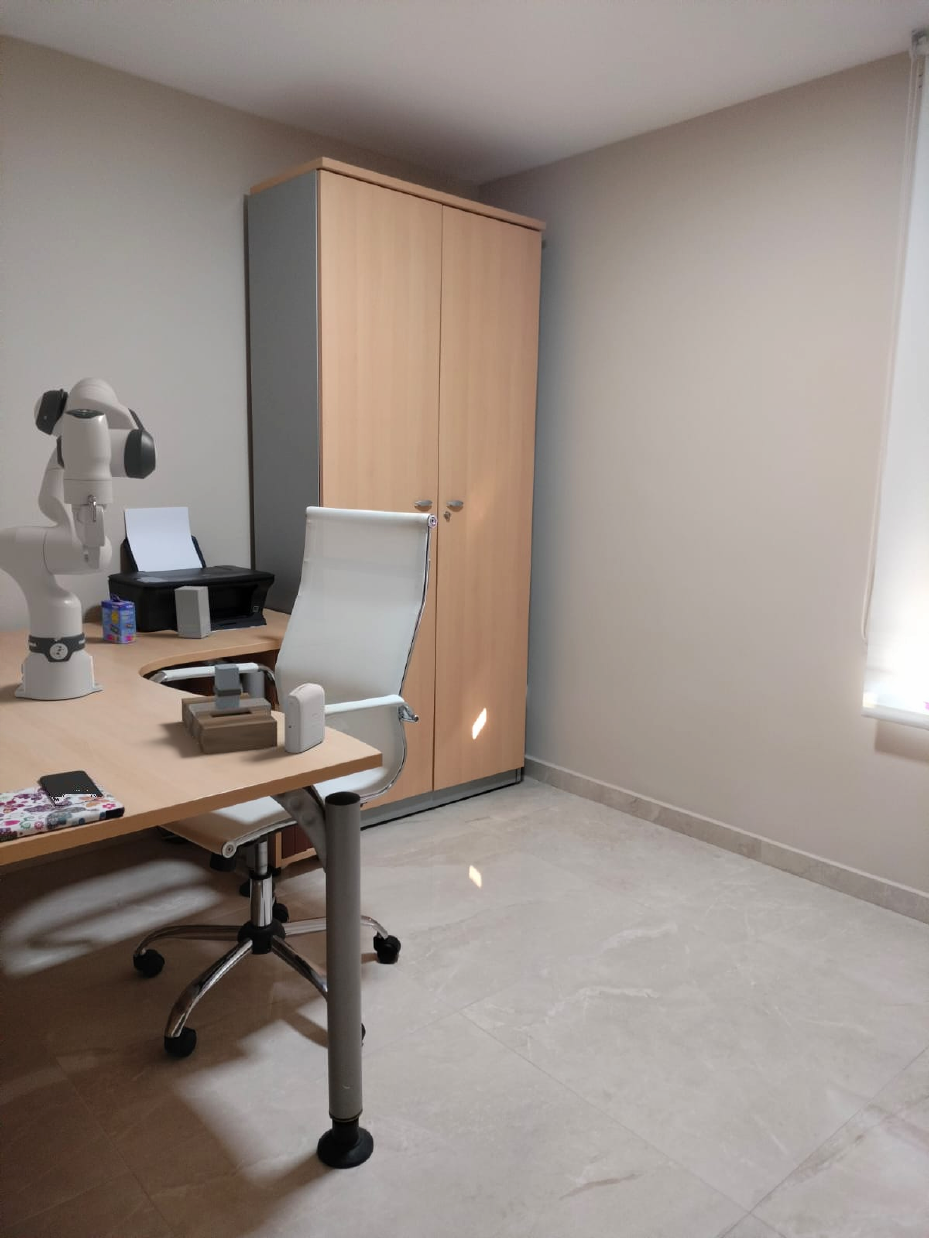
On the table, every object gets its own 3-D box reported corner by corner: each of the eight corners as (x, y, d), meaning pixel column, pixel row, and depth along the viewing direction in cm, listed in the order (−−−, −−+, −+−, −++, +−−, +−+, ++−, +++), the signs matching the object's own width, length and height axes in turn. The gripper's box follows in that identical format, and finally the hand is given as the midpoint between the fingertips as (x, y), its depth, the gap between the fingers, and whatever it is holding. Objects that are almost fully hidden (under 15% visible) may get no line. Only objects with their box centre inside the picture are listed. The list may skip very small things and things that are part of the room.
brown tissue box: (182, 721, 192) (181, 698, 191) (247, 714, 198) (247, 692, 198) (204, 754, 171) (204, 728, 170) (277, 745, 177) (277, 721, 177)
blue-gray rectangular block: (213, 702, 185) (212, 664, 183) (236, 700, 187) (235, 663, 186) (218, 708, 181) (217, 669, 179) (241, 706, 183) (240, 667, 181)
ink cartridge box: (101, 640, 275) (99, 593, 273) (117, 637, 279) (116, 591, 277) (120, 644, 269) (119, 596, 267) (137, 641, 274) (135, 594, 271)
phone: (56, 804, 143) (38, 776, 155) (56, 809, 143) (38, 781, 155) (105, 796, 147) (83, 769, 160) (105, 801, 148) (83, 773, 160)
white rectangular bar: (189, 723, 184) (189, 704, 183) (263, 716, 191) (263, 697, 190) (195, 731, 179) (194, 711, 178) (271, 723, 185) (271, 704, 185)
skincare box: (211, 635, 287) (210, 586, 284) (199, 639, 280) (198, 589, 277) (187, 633, 289) (186, 584, 286) (175, 637, 282) (174, 587, 279)
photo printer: (300, 755, 172) (300, 692, 170) (281, 751, 174) (281, 689, 172) (327, 740, 182) (328, 680, 180) (309, 737, 183) (309, 678, 181)
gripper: (112, 497, 167) (115, 571, 169) (100, 492, 185) (103, 559, 187) (75, 497, 164) (78, 572, 167) (66, 492, 182) (70, 560, 184)
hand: (91, 565), depth 177 cm, fingers open, 8 cm apart
